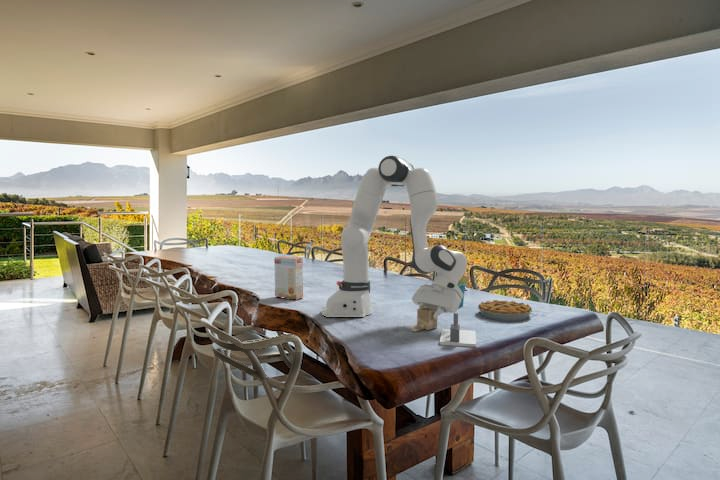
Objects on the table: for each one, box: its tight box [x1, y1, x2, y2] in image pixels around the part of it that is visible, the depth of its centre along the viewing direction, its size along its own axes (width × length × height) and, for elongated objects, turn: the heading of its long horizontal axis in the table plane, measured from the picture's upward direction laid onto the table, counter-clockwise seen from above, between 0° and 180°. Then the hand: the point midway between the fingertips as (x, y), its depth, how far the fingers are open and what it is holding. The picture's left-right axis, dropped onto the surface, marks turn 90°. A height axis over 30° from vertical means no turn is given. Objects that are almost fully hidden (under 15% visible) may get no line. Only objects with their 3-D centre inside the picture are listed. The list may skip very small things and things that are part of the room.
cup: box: [457, 274, 469, 308], centre depth 209 cm, size 14×8×15 cm, turn 127°
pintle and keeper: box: [450, 312, 461, 342], centre depth 159 cm, size 12×3×8 cm, turn 167°
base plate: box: [439, 328, 477, 348], centre depth 160 cm, size 16×12×1 cm
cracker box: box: [273, 255, 304, 300], centre depth 229 cm, size 14×6×21 cm, turn 58°
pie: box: [477, 299, 533, 322], centre depth 193 cm, size 22×22×5 cm
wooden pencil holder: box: [411, 307, 438, 332], centre depth 172 cm, size 10×5×7 cm, turn 132°
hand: (426, 316), depth 173 cm, fingers closed on wooden pencil holder, 5 cm apart
